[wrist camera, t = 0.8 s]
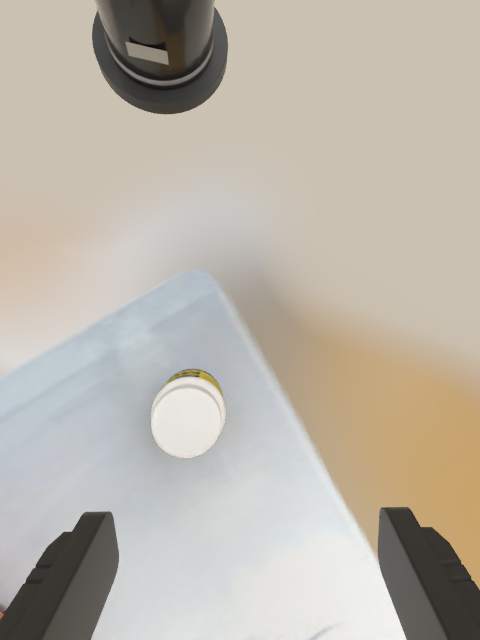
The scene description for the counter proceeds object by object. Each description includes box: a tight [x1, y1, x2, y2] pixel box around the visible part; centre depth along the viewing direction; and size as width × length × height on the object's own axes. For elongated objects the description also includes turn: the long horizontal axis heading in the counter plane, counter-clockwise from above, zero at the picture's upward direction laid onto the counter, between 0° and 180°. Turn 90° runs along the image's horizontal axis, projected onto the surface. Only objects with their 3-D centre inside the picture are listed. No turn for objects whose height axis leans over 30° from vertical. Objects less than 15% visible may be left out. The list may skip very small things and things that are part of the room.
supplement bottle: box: [151, 369, 226, 458], centre depth 24 cm, size 5×5×8 cm
